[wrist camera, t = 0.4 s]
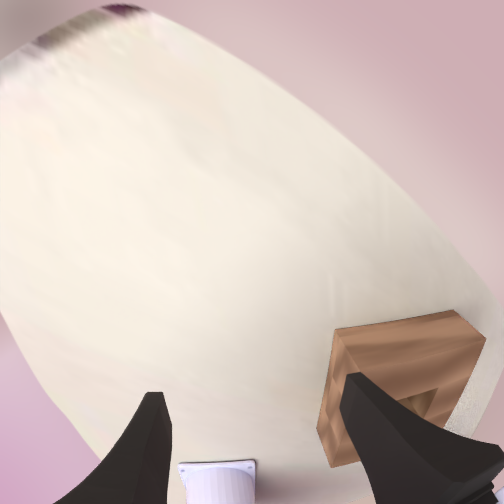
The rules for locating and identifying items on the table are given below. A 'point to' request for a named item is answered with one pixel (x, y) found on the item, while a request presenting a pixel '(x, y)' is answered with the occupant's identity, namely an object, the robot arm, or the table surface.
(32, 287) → the table surface
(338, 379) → the socket block
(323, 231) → the table surface
